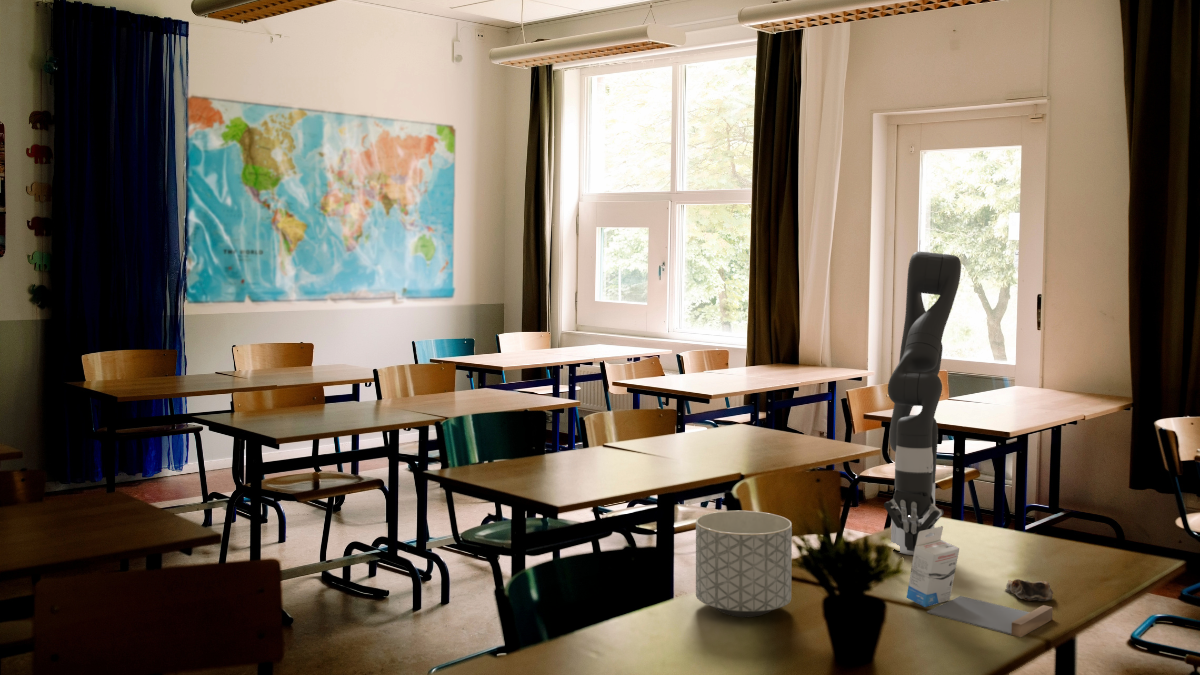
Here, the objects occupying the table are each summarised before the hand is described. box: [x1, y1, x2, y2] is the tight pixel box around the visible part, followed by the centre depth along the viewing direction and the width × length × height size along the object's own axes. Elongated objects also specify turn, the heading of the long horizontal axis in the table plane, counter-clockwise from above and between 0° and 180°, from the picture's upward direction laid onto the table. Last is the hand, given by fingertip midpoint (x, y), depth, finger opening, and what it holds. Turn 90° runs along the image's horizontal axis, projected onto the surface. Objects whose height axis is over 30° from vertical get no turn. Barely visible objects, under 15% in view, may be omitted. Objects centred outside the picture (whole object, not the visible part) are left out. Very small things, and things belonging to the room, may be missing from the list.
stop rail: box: [1010, 604, 1054, 638], centre depth 193 cm, size 2×14×2 cm, turn 134°
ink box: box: [906, 525, 960, 608], centre depth 207 cm, size 8×5×15 cm, turn 125°
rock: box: [1004, 578, 1054, 602], centre depth 211 cm, size 9×6×10 cm
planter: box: [695, 510, 793, 618], centre depth 202 cm, size 19×19×18 cm
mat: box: [926, 595, 1031, 636], centre depth 200 cm, size 17×14×1 cm
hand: (912, 550), depth 210 cm, fingers closed
